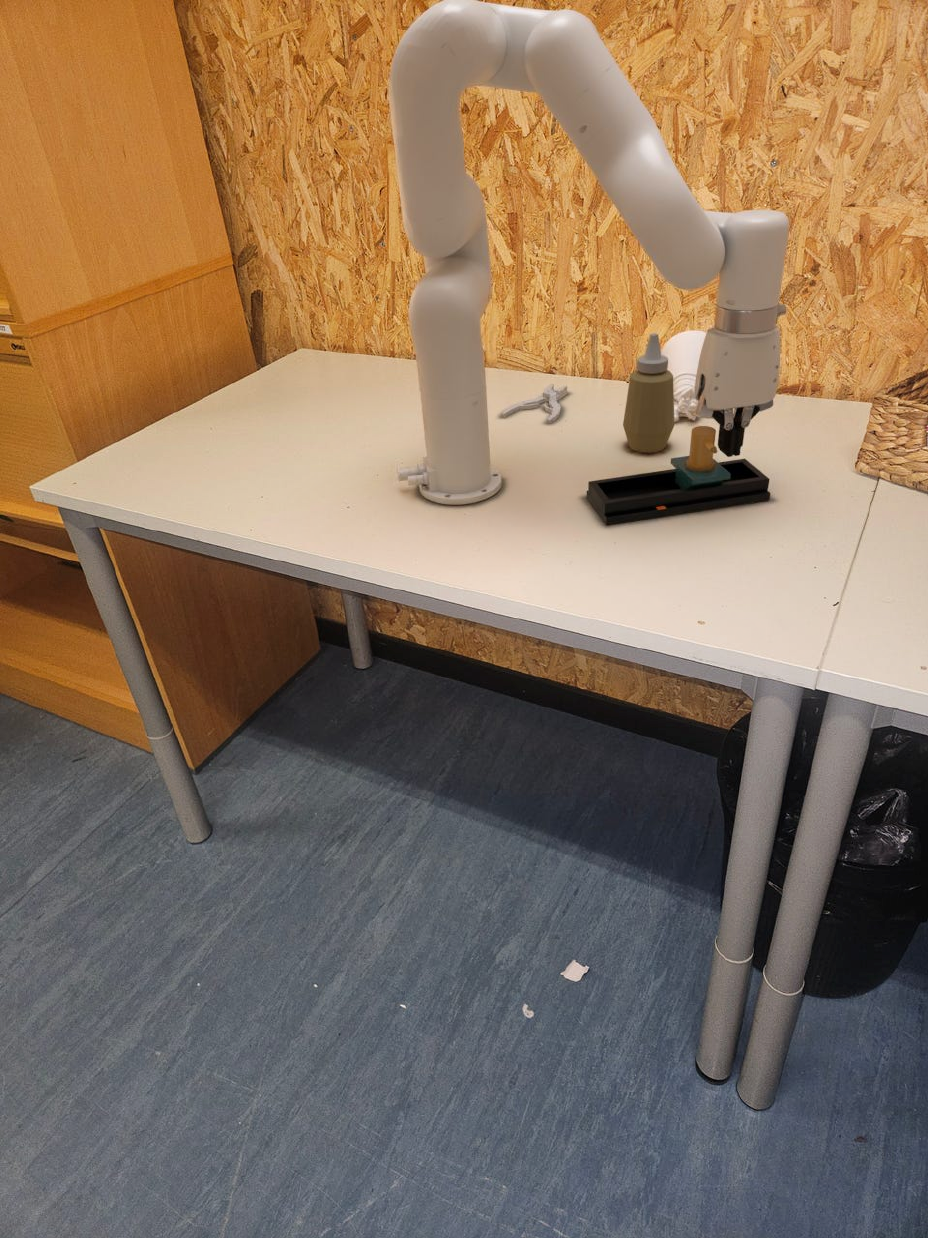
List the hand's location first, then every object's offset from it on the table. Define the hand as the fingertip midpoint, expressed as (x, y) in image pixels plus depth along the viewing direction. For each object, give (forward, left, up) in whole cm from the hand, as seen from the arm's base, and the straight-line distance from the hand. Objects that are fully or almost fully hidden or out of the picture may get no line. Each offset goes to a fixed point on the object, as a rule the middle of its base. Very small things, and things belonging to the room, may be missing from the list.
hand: (729, 452), depth 115 cm
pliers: (-15, +43, -6) cm, 46 cm away
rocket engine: (+8, +35, -6) cm, 36 cm away
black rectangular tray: (-7, 0, -6) cm, 10 cm away
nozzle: (-4, 0, -5) cm, 6 cm away
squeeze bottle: (-4, +19, -6) cm, 20 cm away
